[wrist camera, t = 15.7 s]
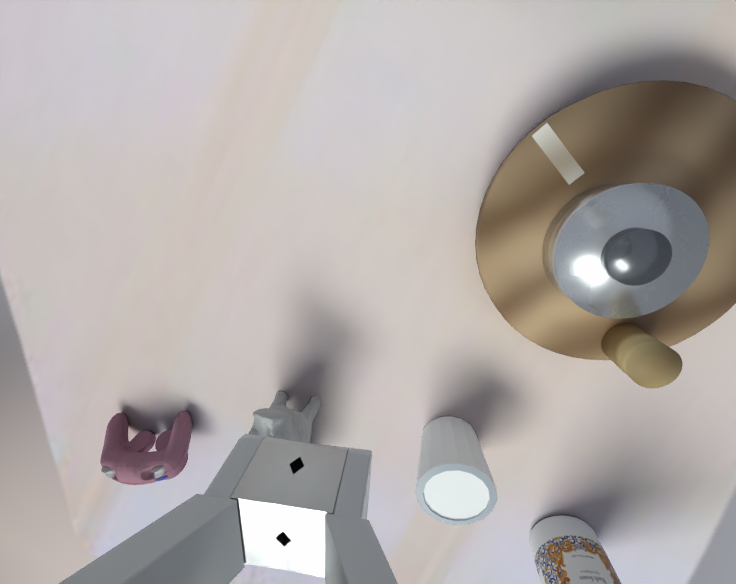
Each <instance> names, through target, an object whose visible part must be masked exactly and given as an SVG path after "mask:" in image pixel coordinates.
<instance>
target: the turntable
mask: <svg viewBox="0 0 736 584" xmlns="http://www.w3.org/2000/svg"><path fill="white" fill-rule="evenodd" d="M608 183H655V184H662V185H666V186H670V187H673V188H675V189H678V190H680V191H682V192H683V193H685V194H686V195H688V196H689V197H691V198H692V199H693V200H694V201H695V202H696V203H697V205H698V206H699V207H700V209H701V210H702V212H703V214H704V216H705V218H706V221H707V224H708V228H709V248H708V254H707V257H706V260H705V263H704V265H703V267H702V269H701V271H700V273H699V274H698V276H697V278H696V279H695V280H694V282H693V283H692V284H691V285H690V287H689V288H688V289H687V290H686V291H685V292H684V293H683V294H682V295H680V296H679V297H678V298H677V299H675V300H674V301H672V302H671V303H669V304H668V305H666V306H665V307H663V308H661V309H659V310H657V311H654V312H651V313H649V314H646V315H642V316H638V317H633V318H624V319H614V318H606V317H600V316H597V315H594V314H591V313H589V312H587V311H585V310H583V309H582V308H580V307H579V306H577V305H576V304H575V303H574V302H572V301H571V300H570V299H568V298H567V297H566V296H565V295H563V294H562V293H561V292H560V291H558V290H557V289H556V288H555V287H554V286H553V284H552V283H551V282H550V280H549V279H548V277H547V275H546V272H545V270H544V266H543V262H542V246H543V240H544V237H545V234H546V231H547V229H548V227H549V225H550V223H551V222H552V220H553V218H554V217H555V216H556V214H557V213H558V212H559V211H560V210H561V209H562V207H563V206H564V205H565V204H567V203H568V202H569V201H570V200H572V199H573V198H574V197H576V196H577V195H579V194H581V193H582V192H584V191H586V190H589V189H591V188H594V187H596V186H600V185H604V184H608ZM475 246H476V259H477V264H478V269H479V273H480V276H481V279H482V282H483V284H484V287H485V289H486V291H487V293H488V295H489V296H490V298H491V300H492V302H493V303H494V305H495V307H496V308H497V309H498V311H499V312H500V313H501V315H502V316H503V317H504V319H505V320H506V321H507V322H508V323H509V324H510V325H511V326H512V327H513V328H514V329H515V330H516V331H518V332H519V333H520V334H522V335H523V336H524V337H526V338H527V339H529V340H530V341H532V342H534V343H536V344H537V345H539V346H541V347H543V348H546V349H548V350H551V351H553V352H556V353H559V354H563V355H566V356H570V357H576V358H582V359H591V360H612V361H613V362H614V363H615V364H616V365H617V366H618V367H619V368H620V369H621V370H622V371H624V372H625V373H626V374H627V375H628V376H629V377H630V378H631V379H632V380H633V381H634V382H635V383H637V384H638V385H640V386H642V387H645V388H659V387H663V386H665V385H668V384H669V383H671V382H672V381H674V380H675V379H676V378H677V377H678V375H679V374H680V372H681V369H682V359H681V357H680V356H679V354H678V353H677V352H675V351H674V350H673V349H671V348H670V346H672V345H675V344H677V343H679V342H681V341H683V340H685V339H687V338H689V337H691V336H693V335H695V334H696V333H698V332H700V331H701V330H703V329H704V328H706V327H707V326H709V325H710V324H712V323H713V322H714V321H716V320H717V319H718V318H720V317H721V316H722V315H723V314H725V313H726V312H727V311H728V310H729V309H730V308H731V307H732V306H733V305H734V304H735V303H736V101H734V100H733V99H731V98H729V97H728V96H726V95H724V94H722V93H719V92H717V91H714V90H712V89H709V88H707V87H703V86H699V85H695V84H690V83H686V82H675V81H647V82H637V83H632V84H627V85H621V86H617V87H614V88H611V89H608V90H605V91H602V92H598V93H596V94H593V95H591V96H589V97H587V98H585V99H583V100H580V101H578V102H576V103H574V104H572V105H570V106H567V107H565V108H564V109H562V110H560V111H559V112H557V113H555V114H554V115H552V116H550V117H549V118H547V119H546V120H545V121H543V122H542V123H541V124H540V125H538V126H537V127H536V128H534V129H533V130H532V131H531V132H530V133H529V134H527V135H526V136H525V137H524V138H523V139H522V140H521V141H520V142H519V143H518V144H517V145H516V146H515V148H514V149H513V150H512V151H511V153H510V154H509V155H508V156H507V157H506V159H505V160H504V161H503V163H502V164H501V166H500V167H499V169H498V171H497V172H496V174H495V175H494V177H493V179H492V181H491V183H490V185H489V187H488V189H487V191H486V193H485V196H484V199H483V202H482V205H481V208H480V212H479V217H478V221H477V226H476V240H475Z"/></svg>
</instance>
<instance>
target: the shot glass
mask: <svg viewBox="0 0 736 584" xmlns="http://www.w3.org/2000/svg"><path fill="white" fill-rule="evenodd" d="M416 496H417V500H418V503H419V505H420V506H421V507H422V509H423V510H424V511H425V513H426V514H428V515H429V516H431V517H433V518H434V519H436V520H437V521H440V522H444V523H448V524H452V525H465V524H471V523H474V522H477V521H480V520H482V519H484V518H485V517H486V516H487V515H488V514H489V513H491V512H492V511H493V509H494V506H495V504H496V501H497V493H496V486H495V484H494V481H493V478H492V476H491V473H490V470H489V468H488V465H487V462H486V460H485V457H484V454H483V452H482V449H481V446H480V444H479V441H478V438H477V436H476V433H475V431H474V430H473V428H472V427H471V425H470V424H468V423H467V422H465V421H464V420H462V419H460V418H456V417H452V416H447V417H439V418H437V419H434V420H432V421H430V422H429V423H428V424H427V425H426V427H425V428H424V430H423V433H422V436H421V445H420V454H419V464H418V473H417V482H416Z"/></svg>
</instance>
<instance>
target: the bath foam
mask: <svg viewBox="0 0 736 584" xmlns="http://www.w3.org/2000/svg"><path fill="white" fill-rule="evenodd" d="M529 543H530V548H531V551H532V554H533V557H534V560H535V564H536V567H537V571H538V574H539V577H540V580H541V583H542V584H621V582H620V580H619V578H618V576H617V574H616V572H615V570H614V568H613V566H612V565H611V563H610V561H609V559H608V557H607V555H606V553H605V551H604V549H603V547H602V545H601V543H600V541H599V539H598V537H597V536H596V534H595V532H594V530H593V529H592V528H591V527H590V526H589V525H588V524H587V523H585V522H584V521H582V520H580V519H578V518H575V517H571V516H565V515H558V516H551V517H548V518H545V519H543V520H541V521H540V522H538V523H537V524H536V525H535V526H534V527H533V528H532V530H531V532H530V537H529Z"/></svg>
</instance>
